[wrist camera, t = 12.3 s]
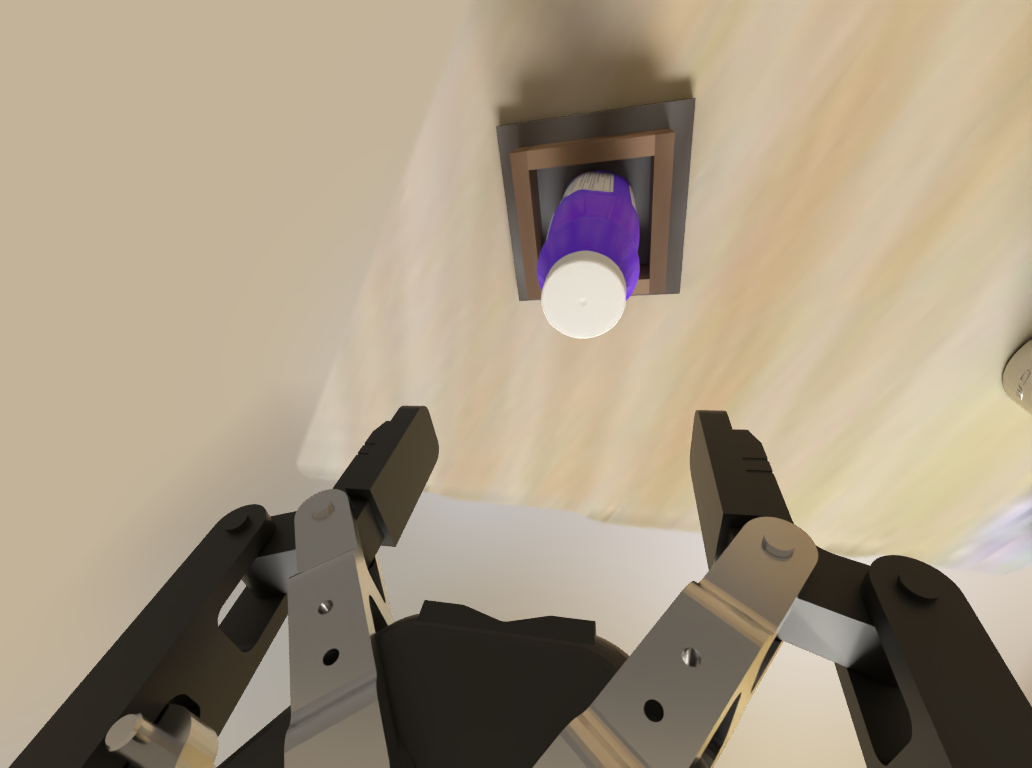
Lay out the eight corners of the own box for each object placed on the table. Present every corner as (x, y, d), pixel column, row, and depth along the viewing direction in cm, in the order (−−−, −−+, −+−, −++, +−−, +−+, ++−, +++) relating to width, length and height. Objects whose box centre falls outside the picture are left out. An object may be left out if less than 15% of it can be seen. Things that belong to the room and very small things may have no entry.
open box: (692, 97, 30) (703, 100, 26) (677, 288, 38) (684, 310, 34) (499, 125, 33) (484, 130, 30) (521, 295, 41) (511, 317, 37)
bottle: (567, 161, 33) (529, 218, 19) (642, 169, 32) (662, 234, 18) (555, 255, 37) (517, 359, 23) (622, 264, 36) (624, 377, 22)
